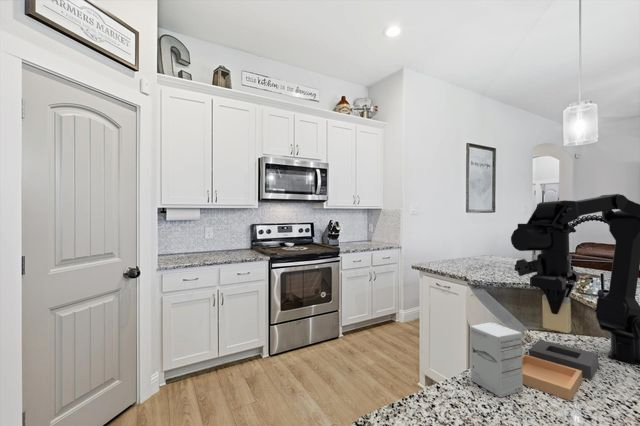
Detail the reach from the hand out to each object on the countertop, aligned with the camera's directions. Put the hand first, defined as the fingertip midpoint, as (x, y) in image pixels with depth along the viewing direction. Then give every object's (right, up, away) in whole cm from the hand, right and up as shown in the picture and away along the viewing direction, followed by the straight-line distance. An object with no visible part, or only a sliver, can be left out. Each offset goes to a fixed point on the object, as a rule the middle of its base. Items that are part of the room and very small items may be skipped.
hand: (556, 312), depth 74 cm
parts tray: (-8, -13, -7) cm, 17 cm away
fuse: (0, -4, 0) cm, 4 cm away
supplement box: (-20, -14, -9) cm, 26 cm away
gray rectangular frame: (+3, -13, +1) cm, 14 cm away
